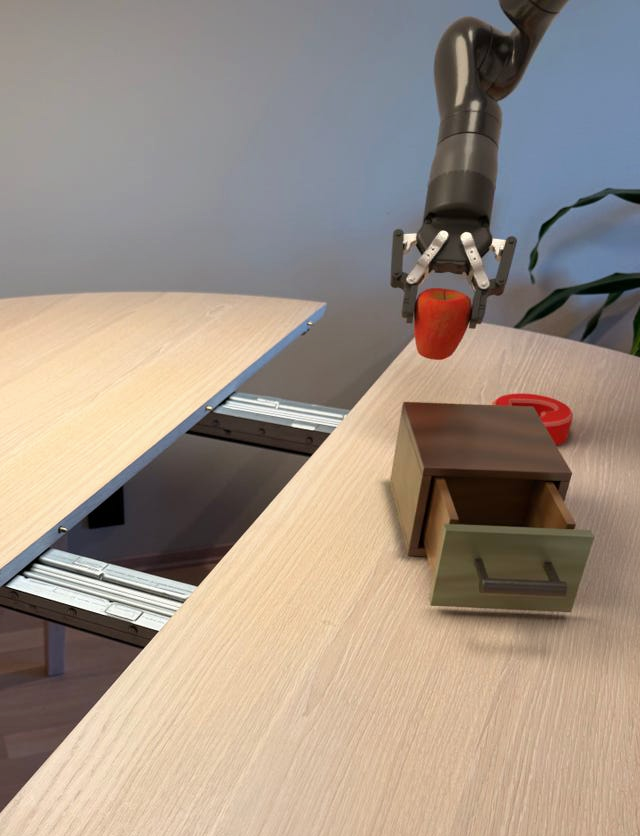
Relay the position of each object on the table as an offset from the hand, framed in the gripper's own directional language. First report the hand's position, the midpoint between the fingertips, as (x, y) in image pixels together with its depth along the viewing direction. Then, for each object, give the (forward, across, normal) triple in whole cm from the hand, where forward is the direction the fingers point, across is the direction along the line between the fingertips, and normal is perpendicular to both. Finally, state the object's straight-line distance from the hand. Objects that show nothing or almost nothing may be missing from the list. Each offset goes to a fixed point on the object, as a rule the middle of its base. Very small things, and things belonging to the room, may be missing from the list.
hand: (441, 322), depth 111 cm
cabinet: (+23, +5, -2) cm, 24 cm away
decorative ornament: (+5, +13, +16) cm, 21 cm away
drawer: (+32, +8, -12) cm, 35 cm away
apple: (+2, 0, +4) cm, 5 cm away
